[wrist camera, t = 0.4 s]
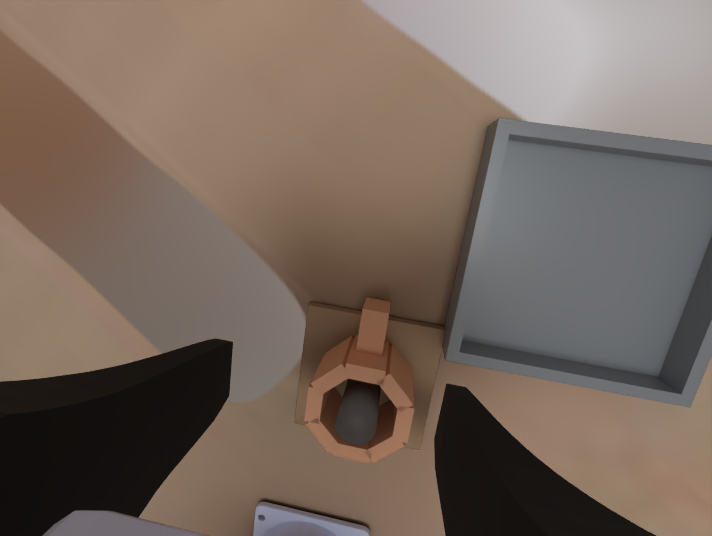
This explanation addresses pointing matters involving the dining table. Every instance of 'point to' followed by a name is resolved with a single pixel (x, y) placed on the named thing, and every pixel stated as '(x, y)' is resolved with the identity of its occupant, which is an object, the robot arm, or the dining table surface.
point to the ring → (367, 364)
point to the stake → (363, 398)
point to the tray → (587, 261)
